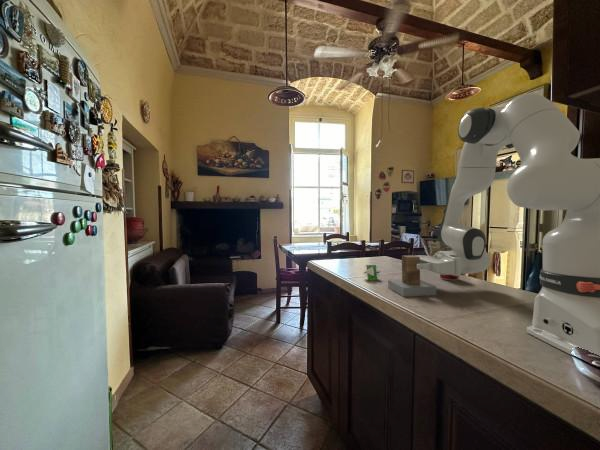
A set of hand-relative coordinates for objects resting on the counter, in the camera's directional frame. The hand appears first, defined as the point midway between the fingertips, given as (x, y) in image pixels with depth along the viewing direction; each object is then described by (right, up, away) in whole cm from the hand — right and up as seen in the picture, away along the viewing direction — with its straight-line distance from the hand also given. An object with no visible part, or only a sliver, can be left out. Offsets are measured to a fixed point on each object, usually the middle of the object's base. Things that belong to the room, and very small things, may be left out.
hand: (409, 264), depth 94 cm
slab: (+1, -10, 0) cm, 10 cm away
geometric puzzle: (-8, -10, +20) cm, 24 cm away
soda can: (+25, -9, +17) cm, 32 cm away
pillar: (+1, -7, 0) cm, 7 cm away
